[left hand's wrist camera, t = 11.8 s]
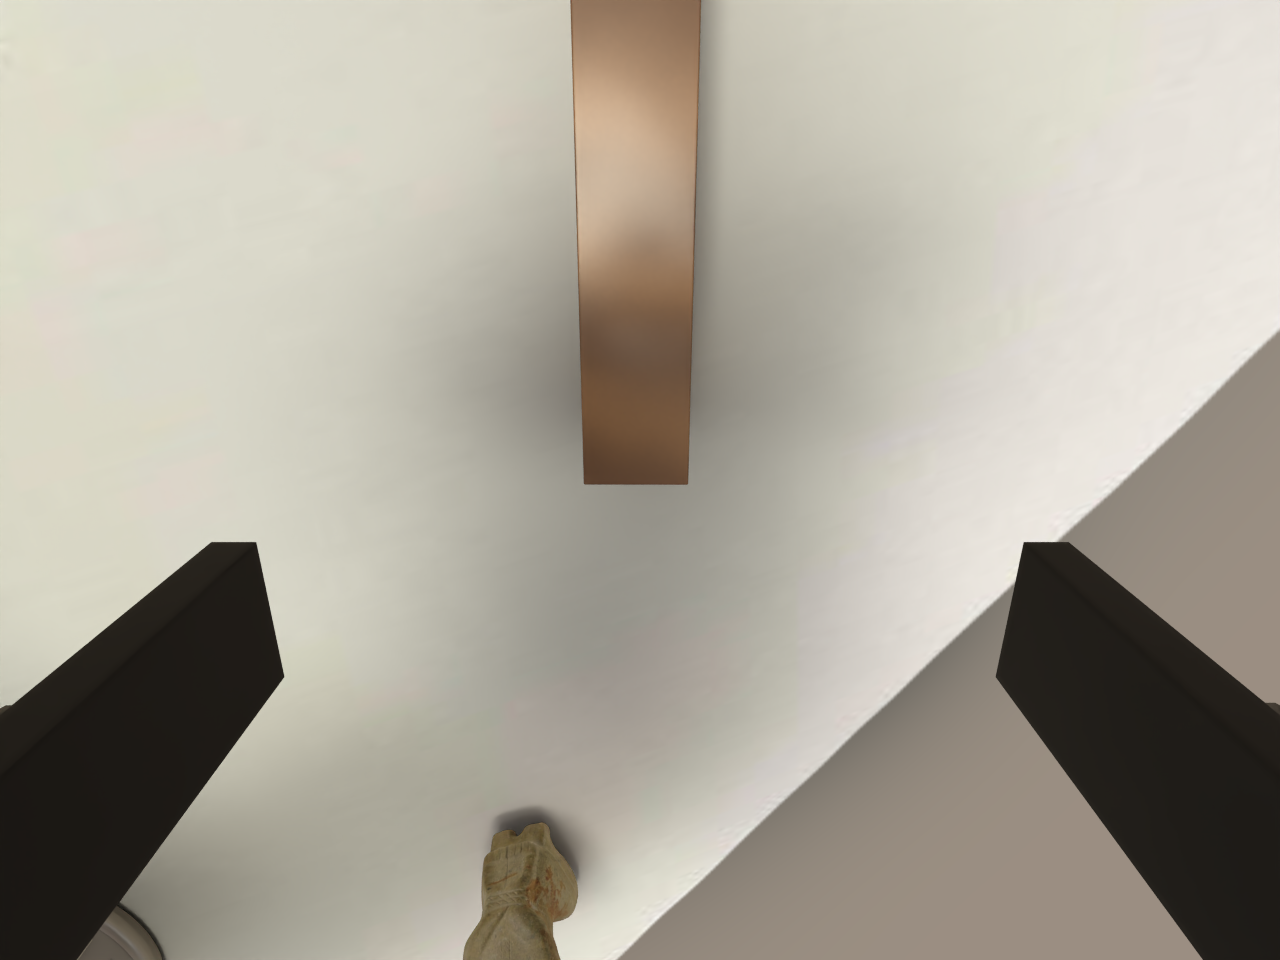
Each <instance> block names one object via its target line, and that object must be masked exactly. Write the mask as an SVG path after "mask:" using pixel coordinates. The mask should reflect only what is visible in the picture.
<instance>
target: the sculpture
mask: <svg viewBox="0 0 1280 960" xmlns="http://www.w3.org/2000/svg"><path fill="white" fill-rule="evenodd" d="M577 898H578V888H577V882H576V878H575V876H574V873H573V871H572V869H571V868H570V866H569V864H568V863H567V861H566V860H565V859H564V857H563V856H562V855H561V854H560V853H559V852H558V851H557V850H556V848H555V847H554V845H553V843H552V841H551V838H550V830H549V827H548V826H547V825H546V824H545V823H543V822H541V823H536V824H530V825H528V826H526V827H525V828H524V830H523V832H522V833H521V834H520V835H519V836H517V835H516V833H515V831H513V830H505V831H502V832H499V833H496V834H495V835H494V836H493V840H492V846H491V852H490V853H489V854H487V856H486V857H485V859H484V863H483V873H482V909H483V911H482V917H481V920H480V922H479V923H478V925H477V926H476V928H475V929H474V931H473V932H472V934H471V935H470V937H469V938H468V940H467V942H466V945H465V948H464V955H463V960H560V957H559V954H558V950H557V946H556V943H555V941H554V938H553V922H557V921H561V920H564V919H566V918H568V917H569V916H570V915H571V914H572V913H573V911H574V909H575V906H576V903H577Z"/></svg>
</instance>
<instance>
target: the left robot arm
mask: <svg viewBox="0 0 1280 960" xmlns="http://www.w3.org/2000/svg"><path fill="white" fill-rule="evenodd" d="M283 678H284V673H283V668H282V663H281V659H280V654H279V649H278V644H277V640H276V635H275V630H274V625H273V620H272V616H271V611H270V606H269V601H268V596H267V592H266V587H265V582H264V577H263V573H262V568H261V563H260V558H259V553H258V549H257V544H256V542H211V543H210V544H209V545H207V546H206V547H205V548H204V549H202V550H201V551H200V552H199V553H198V554H196V555H195V556H194V557H193V558H191V559H190V560H189V561H188V562H187V563H185V564H184V565H183V566H182V567H180V568H179V569H178V570H177V571H176V572H174V573H173V574H172V575H171V576H169V577H168V578H167V579H166V580H165V581H163V582H162V583H161V584H160V585H158V586H157V587H156V588H155V589H154V590H152V591H151V592H150V593H149V594H147V595H146V596H145V597H144V598H143V599H141V600H140V601H139V602H138V603H136V604H135V605H134V606H133V607H132V608H130V609H129V610H128V611H127V612H125V613H124V614H123V615H122V616H121V617H119V618H118V619H117V620H116V621H114V622H113V623H112V624H111V625H110V626H108V627H107V628H106V629H105V630H103V631H102V632H101V633H100V634H99V635H97V636H96V637H95V638H94V639H92V640H91V641H90V642H89V643H88V644H86V645H85V646H84V647H83V648H81V649H80V650H79V651H78V652H77V653H75V654H74V655H73V656H72V657H70V658H69V659H68V660H67V661H66V662H64V663H63V664H62V665H61V666H59V667H58V668H57V669H56V670H55V671H53V672H52V673H51V674H50V675H48V676H47V677H46V678H45V679H44V680H42V681H41V682H40V683H39V684H37V685H36V686H35V687H34V688H33V689H31V690H30V691H29V692H28V693H26V694H25V695H24V696H23V697H22V698H20V699H19V700H18V701H17V702H15V703H14V704H13V705H6V706H4V707H2V708H0V960H162V957H161V954H160V952H159V950H158V948H157V946H156V944H155V942H154V941H153V939H152V938H151V936H150V935H149V934H148V933H147V931H146V930H145V929H144V928H143V927H142V926H141V925H140V924H139V923H138V922H137V921H136V920H135V919H134V918H133V917H132V916H130V915H129V914H128V913H126V912H125V911H124V910H122V909H121V908H120V907H118V906H117V904H118V903H119V902H120V900H121V899H122V898H123V896H124V895H125V894H126V892H127V891H128V889H129V888H130V887H131V885H132V884H133V883H134V881H135V880H136V879H137V877H138V876H139V874H140V873H141V872H142V870H143V869H144V868H145V866H146V865H147V864H148V862H149V861H150V859H151V858H152V857H153V855H154V854H155V853H156V851H157V850H158V849H159V847H160V846H161V844H162V843H163V842H164V840H165V839H166V838H167V836H168V835H169V834H170V832H171V831H172V829H173V828H174V827H175V825H176V824H177V823H178V821H179V820H180V819H181V817H182V816H183V814H184V813H185V812H186V810H187V809H188V808H189V806H190V805H191V804H192V802H193V801H194V799H195V798H196V797H197V795H198V794H199V793H200V791H201V790H202V789H203V787H204V786H205V784H206V783H207V782H208V780H209V779H210V778H211V776H212V775H213V774H214V772H215V771H216V769H217V768H218V767H219V765H220V764H221V763H222V761H223V760H224V759H225V757H226V756H227V754H228V753H229V752H230V750H231V749H232V748H233V746H234V745H235V743H236V742H237V741H238V739H239V738H240V737H241V735H242V734H243V733H244V731H245V730H246V728H247V727H248V726H249V724H250V723H251V722H252V720H253V719H254V718H255V716H256V715H257V713H258V712H259V711H260V709H261V708H262V707H263V705H264V704H265V703H266V701H267V700H268V698H269V697H270V696H271V694H272V693H273V692H274V690H275V689H276V688H277V686H278V685H279V683H280V682H281V681H282V679H283ZM996 678H997V679H998V681H999V682H1000V683H1001V685H1002V686H1003V688H1004V689H1005V690H1006V692H1007V693H1008V694H1009V696H1010V697H1011V698H1012V700H1013V701H1014V703H1015V704H1016V705H1017V707H1018V708H1019V709H1020V711H1021V712H1022V713H1023V715H1024V716H1025V718H1026V719H1027V720H1028V722H1029V723H1030V724H1031V726H1032V727H1033V728H1034V730H1035V731H1036V733H1037V734H1038V735H1039V737H1040V738H1041V739H1042V741H1043V742H1044V743H1045V745H1046V746H1047V748H1048V749H1049V750H1050V752H1051V753H1052V754H1053V756H1054V757H1055V759H1056V760H1057V761H1058V763H1059V764H1060V765H1061V767H1062V768H1063V769H1064V771H1065V772H1066V774H1067V775H1068V776H1069V778H1070V779H1071V780H1072V782H1073V783H1074V784H1075V786H1076V787H1077V789H1078V790H1079V791H1080V793H1081V794H1082V795H1083V797H1084V798H1085V799H1086V801H1087V802H1088V803H1089V805H1090V806H1091V808H1092V809H1093V810H1094V812H1095V813H1096V814H1097V816H1098V817H1099V819H1100V820H1101V821H1102V823H1103V824H1104V825H1105V827H1106V828H1107V829H1108V831H1109V832H1110V834H1111V835H1112V836H1113V838H1114V839H1115V840H1116V842H1117V843H1118V844H1119V846H1120V847H1121V849H1122V850H1123V851H1124V853H1125V854H1126V855H1127V857H1128V858H1129V859H1130V861H1131V862H1132V864H1133V865H1134V866H1135V868H1136V869H1137V870H1138V872H1139V873H1140V874H1141V876H1142V877H1143V879H1144V880H1145V881H1146V883H1147V884H1148V885H1149V887H1150V888H1151V889H1152V891H1153V892H1154V894H1155V895H1156V896H1157V898H1158V899H1159V900H1160V902H1161V903H1162V904H1163V906H1164V907H1165V909H1166V910H1167V911H1168V913H1169V914H1170V915H1171V917H1172V918H1173V919H1174V921H1175V922H1176V924H1177V925H1178V926H1179V928H1180V929H1181V930H1182V932H1183V933H1184V934H1185V936H1186V937H1187V939H1188V940H1189V941H1190V943H1191V944H1192V945H1193V947H1194V948H1195V950H1196V951H1197V952H1198V954H1199V955H1200V956H1201V958H1202V959H1203V960H1280V705H1278V704H1276V703H1265V702H1263V701H1262V700H1261V699H1260V698H1258V697H1257V696H1256V695H1255V694H1254V693H1252V692H1251V691H1250V690H1249V689H1247V688H1246V687H1245V686H1244V685H1243V684H1241V683H1240V682H1239V681H1238V680H1236V679H1235V678H1234V677H1233V676H1232V675H1230V674H1229V673H1228V672H1227V671H1225V670H1224V669H1223V668H1222V667H1221V666H1219V665H1218V664H1217V663H1216V662H1214V661H1213V660H1212V659H1211V658H1210V657H1208V656H1207V655H1206V654H1205V653H1203V652H1202V651H1201V650H1200V649H1199V648H1197V647H1196V646H1195V645H1194V644H1192V643H1191V642H1190V641H1189V640H1188V639H1186V638H1185V637H1184V636H1183V635H1181V634H1180V633H1179V632H1178V631H1176V630H1175V629H1174V628H1173V627H1172V626H1170V625H1169V624H1168V623H1167V622H1166V621H1164V620H1163V619H1162V618H1161V617H1159V616H1158V615H1157V614H1156V613H1155V612H1153V611H1152V610H1151V609H1150V608H1148V607H1147V606H1146V605H1145V604H1144V603H1142V602H1141V601H1140V600H1139V599H1137V598H1136V597H1135V596H1134V595H1133V594H1131V593H1130V592H1129V591H1128V590H1126V589H1125V588H1124V587H1123V586H1121V585H1120V584H1119V583H1118V582H1117V581H1115V580H1114V579H1113V578H1112V577H1111V576H1109V575H1108V574H1107V573H1106V572H1104V571H1103V570H1102V569H1101V568H1099V567H1098V566H1097V565H1096V564H1095V563H1093V562H1092V561H1091V560H1090V559H1088V558H1087V557H1086V556H1085V555H1084V554H1082V553H1081V552H1080V551H1079V550H1078V549H1076V548H1075V547H1074V546H1073V545H1071V544H1070V543H1069V542H1024V544H1023V549H1022V553H1021V558H1020V563H1019V568H1018V573H1017V577H1016V582H1015V587H1014V592H1013V596H1012V601H1011V606H1010V611H1009V616H1008V620H1007V625H1006V630H1005V635H1004V640H1003V644H1002V649H1001V654H1000V659H999V664H998V668H997V673H996Z"/></svg>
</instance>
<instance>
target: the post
mask: <svg viewBox="0 0 1280 960" xmlns="http://www.w3.org/2000/svg"><path fill="white" fill-rule="evenodd" d="M700 22H701V0H571V35H572V71H573V107H574V143H575V179H576V215H577V252H578V288H579V324H580V360H581V396H582V432H583V468H584V484H663V485H687V484H688V465H689V428H690V391H691V354H692V317H693V281H694V244H695V207H696V170H697V133H698V96H699V59H700Z"/></svg>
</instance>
